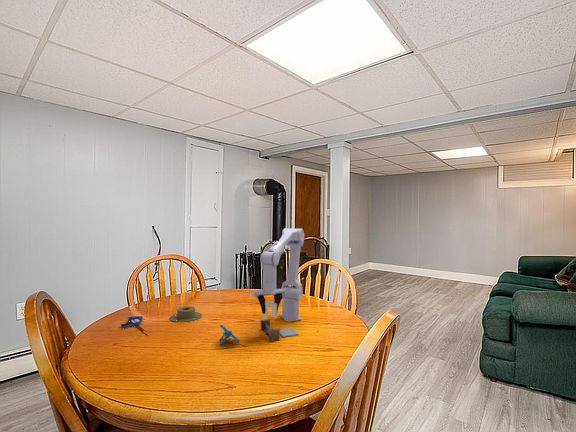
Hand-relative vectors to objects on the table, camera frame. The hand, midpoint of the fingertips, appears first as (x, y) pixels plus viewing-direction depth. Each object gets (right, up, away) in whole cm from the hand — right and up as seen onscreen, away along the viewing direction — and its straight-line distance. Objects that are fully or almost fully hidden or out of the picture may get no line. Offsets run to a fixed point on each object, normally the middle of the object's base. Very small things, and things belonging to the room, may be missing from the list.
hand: (269, 312), depth 128 cm
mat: (+8, -9, +1) cm, 12 cm away
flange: (-42, -10, +21) cm, 48 cm away
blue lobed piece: (-16, -10, -8) cm, 20 cm away
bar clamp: (-57, -10, +4) cm, 58 cm away
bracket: (0, -2, 0) cm, 2 cm away
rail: (0, -9, 0) cm, 9 cm away
